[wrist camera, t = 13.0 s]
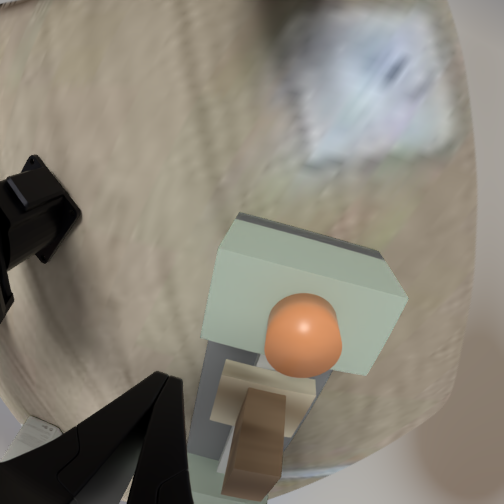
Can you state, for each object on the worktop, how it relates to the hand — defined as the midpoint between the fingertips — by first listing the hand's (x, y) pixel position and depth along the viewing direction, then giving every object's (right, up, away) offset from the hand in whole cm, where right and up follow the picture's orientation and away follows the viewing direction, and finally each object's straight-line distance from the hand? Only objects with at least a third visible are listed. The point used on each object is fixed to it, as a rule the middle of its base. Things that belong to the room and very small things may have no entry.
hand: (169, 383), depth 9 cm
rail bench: (+3, -8, +16) cm, 18 cm away
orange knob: (+5, +1, +7) cm, 9 cm away
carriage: (+3, -6, +12) cm, 13 cm away
